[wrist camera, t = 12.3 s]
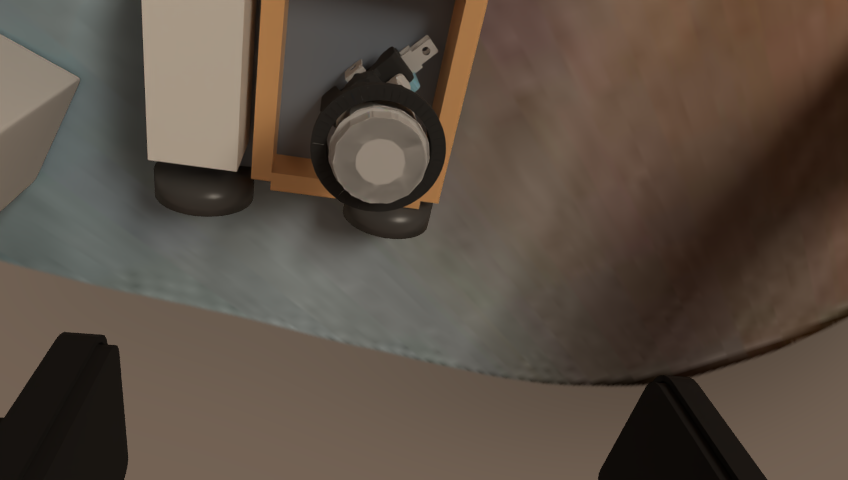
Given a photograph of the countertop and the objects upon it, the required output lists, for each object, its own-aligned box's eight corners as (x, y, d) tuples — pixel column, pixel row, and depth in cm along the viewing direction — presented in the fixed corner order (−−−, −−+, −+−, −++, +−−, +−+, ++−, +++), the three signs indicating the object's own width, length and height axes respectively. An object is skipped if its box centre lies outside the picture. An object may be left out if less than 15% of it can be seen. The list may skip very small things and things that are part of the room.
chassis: (492, -60, 28) (521, -52, 23) (430, 203, 35) (442, 249, 31) (150, -142, 25) (105, -151, 20) (159, 167, 32) (128, 213, 27)
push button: (399, -6, 27) (424, 37, 19) (459, 80, 30) (504, 151, 22) (297, 78, 29) (278, 151, 20) (363, 153, 32) (369, 246, 23)
